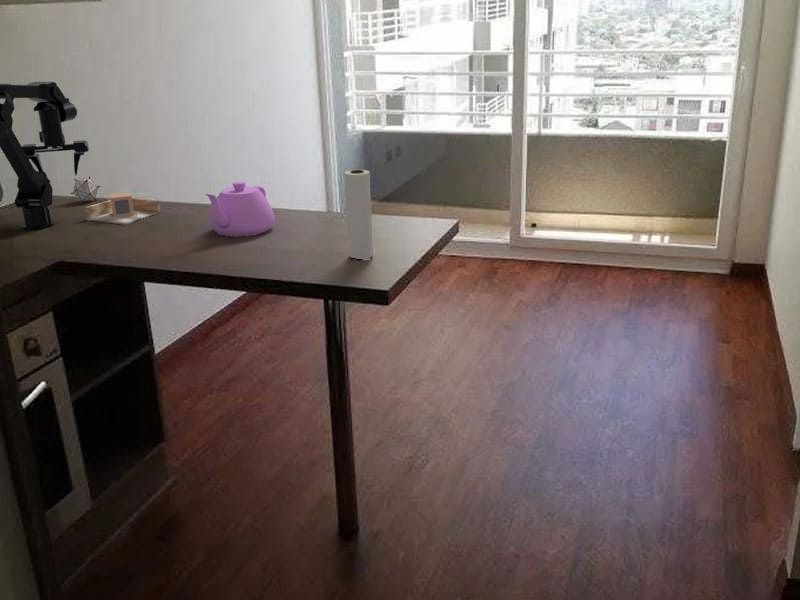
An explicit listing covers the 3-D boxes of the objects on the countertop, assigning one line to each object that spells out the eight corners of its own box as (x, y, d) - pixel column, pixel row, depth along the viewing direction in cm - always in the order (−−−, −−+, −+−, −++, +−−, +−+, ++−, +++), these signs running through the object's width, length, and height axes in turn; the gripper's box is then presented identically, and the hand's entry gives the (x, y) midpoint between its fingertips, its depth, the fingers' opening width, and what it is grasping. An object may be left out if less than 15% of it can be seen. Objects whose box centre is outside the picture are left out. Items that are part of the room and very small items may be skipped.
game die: (91, 211, 268) (99, 184, 270) (98, 206, 261) (106, 178, 263) (64, 201, 263) (73, 173, 265) (70, 196, 256) (79, 167, 259)
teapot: (243, 218, 238) (238, 172, 233) (292, 223, 230) (288, 176, 226) (186, 239, 217) (180, 190, 213) (238, 246, 210) (233, 195, 205)
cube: (134, 215, 242) (131, 196, 240) (113, 217, 240) (110, 198, 238) (133, 211, 247) (130, 192, 245) (113, 213, 245) (110, 194, 243)
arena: (124, 224, 234) (122, 211, 232) (86, 220, 240) (84, 207, 239) (160, 213, 246) (158, 200, 245) (123, 209, 253) (121, 196, 251)
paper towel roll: (351, 253, 201) (346, 168, 193) (374, 253, 200) (371, 168, 192) (346, 261, 194) (341, 174, 186) (370, 262, 193) (367, 174, 186)
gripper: (85, 119, 248) (93, 169, 253) (20, 123, 243) (29, 174, 248) (83, 124, 238) (92, 175, 243) (15, 128, 233) (26, 181, 238)
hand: (60, 176), depth 244 cm, fingers open, 9 cm apart
